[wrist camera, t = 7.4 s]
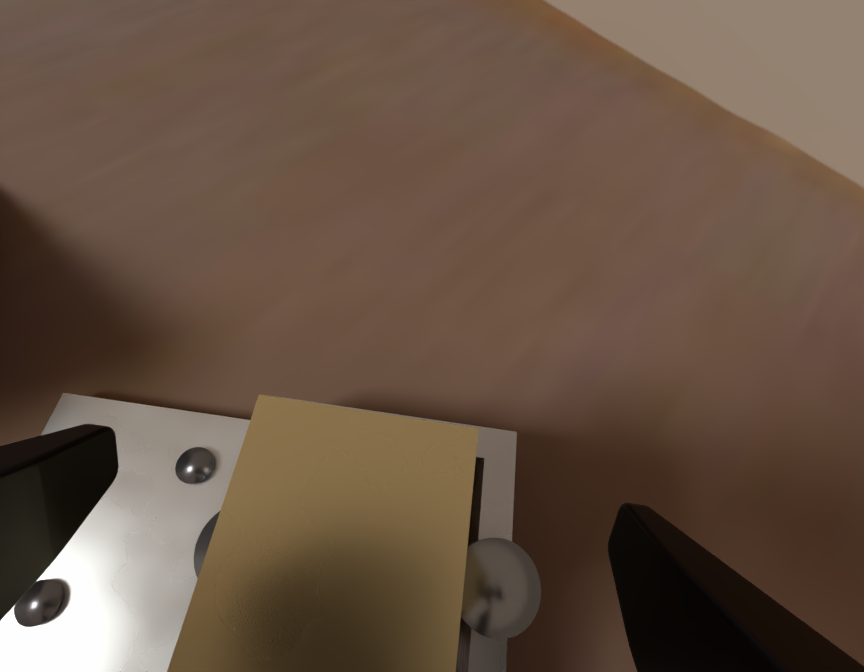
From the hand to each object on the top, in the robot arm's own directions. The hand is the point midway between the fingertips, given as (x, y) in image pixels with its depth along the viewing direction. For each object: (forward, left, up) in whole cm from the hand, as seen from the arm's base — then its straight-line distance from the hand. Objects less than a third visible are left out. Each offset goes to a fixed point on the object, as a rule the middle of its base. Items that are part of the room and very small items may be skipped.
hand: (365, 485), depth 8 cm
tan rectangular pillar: (-1, +1, -9) cm, 9 cm away
